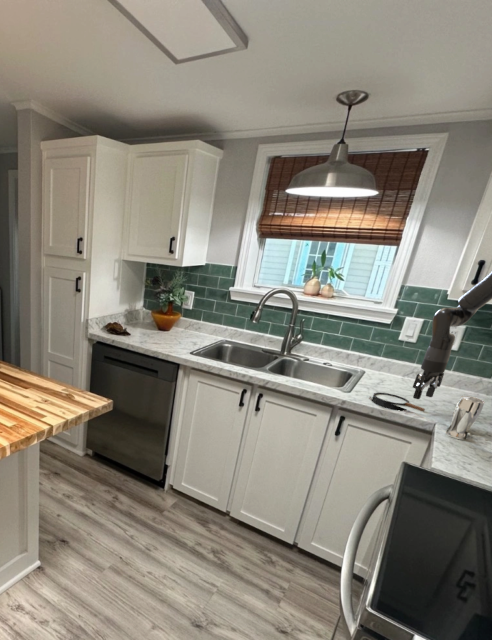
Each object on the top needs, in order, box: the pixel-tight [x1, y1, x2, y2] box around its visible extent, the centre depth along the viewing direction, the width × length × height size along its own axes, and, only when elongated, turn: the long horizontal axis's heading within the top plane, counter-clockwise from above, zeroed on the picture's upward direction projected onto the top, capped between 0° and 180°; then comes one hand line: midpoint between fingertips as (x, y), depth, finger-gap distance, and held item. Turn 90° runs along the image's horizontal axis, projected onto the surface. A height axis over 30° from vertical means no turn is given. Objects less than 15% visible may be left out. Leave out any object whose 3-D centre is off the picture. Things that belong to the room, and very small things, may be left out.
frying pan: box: [371, 392, 426, 412], centre depth 174 cm, size 20×13×4 cm, turn 24°
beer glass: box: [445, 395, 486, 441], centre depth 149 cm, size 7×7×15 cm
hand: (422, 397), depth 165 cm, fingers open, 8 cm apart
